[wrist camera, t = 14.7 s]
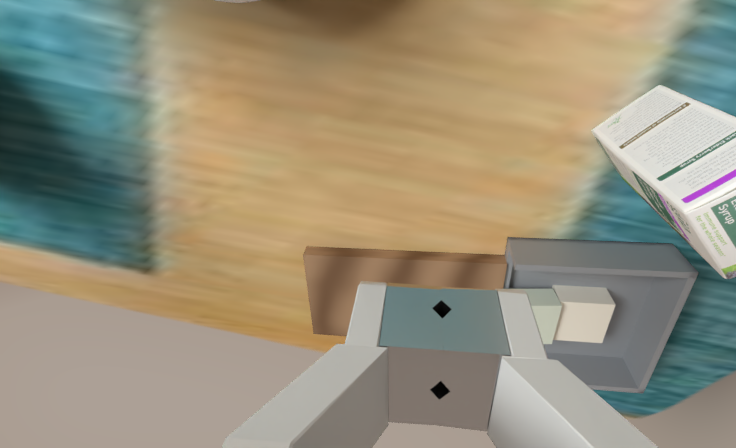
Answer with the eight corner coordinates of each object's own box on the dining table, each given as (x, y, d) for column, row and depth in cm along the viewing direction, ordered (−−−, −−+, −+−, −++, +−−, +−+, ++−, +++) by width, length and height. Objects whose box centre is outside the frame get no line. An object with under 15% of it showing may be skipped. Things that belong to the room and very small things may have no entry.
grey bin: (672, 243, 38) (698, 272, 35) (625, 359, 46) (642, 393, 42) (507, 237, 40) (515, 264, 36) (489, 349, 48) (494, 381, 44)
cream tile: (606, 287, 41) (615, 304, 39) (593, 325, 44) (602, 343, 42) (552, 284, 42) (559, 301, 40) (543, 322, 44) (549, 339, 42)
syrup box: (587, 129, 34) (677, 218, 22) (661, 80, 32) (810, 147, 19) (622, 178, 36) (723, 286, 24) (695, 135, 33) (851, 230, 21)
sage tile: (552, 288, 41) (562, 305, 39) (543, 326, 44) (551, 344, 42) (501, 288, 41) (507, 305, 39) (495, 325, 44) (500, 343, 42)
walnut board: (504, 255, 41) (507, 264, 40) (491, 336, 47) (493, 346, 46) (306, 246, 44) (303, 254, 42) (316, 324, 49) (313, 333, 48)
